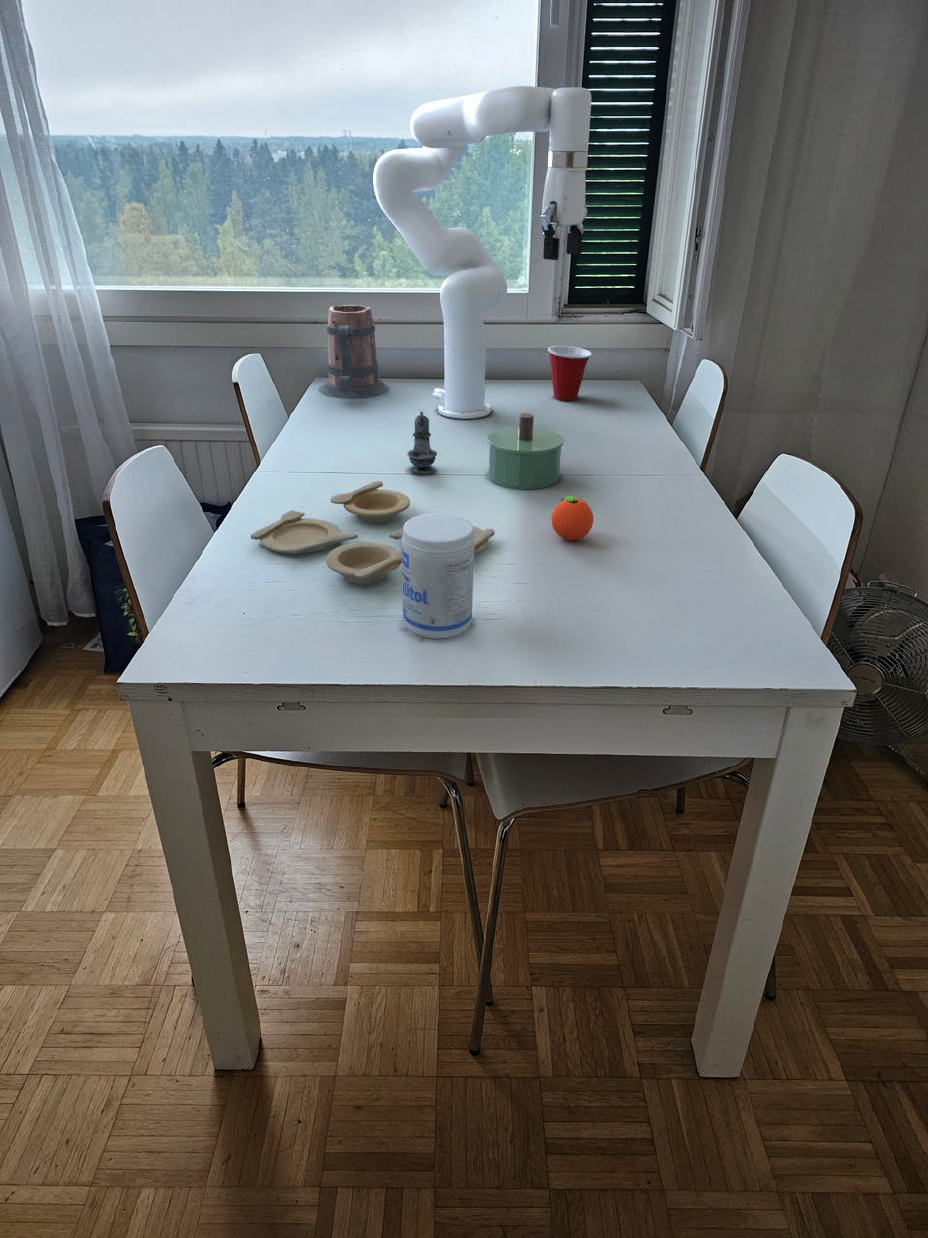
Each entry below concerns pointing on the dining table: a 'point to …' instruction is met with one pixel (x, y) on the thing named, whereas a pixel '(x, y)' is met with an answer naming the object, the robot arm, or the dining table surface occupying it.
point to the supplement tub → (437, 574)
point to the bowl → (524, 469)
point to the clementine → (572, 518)
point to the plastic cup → (567, 370)
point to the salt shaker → (422, 448)
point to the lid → (525, 438)
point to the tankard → (352, 353)
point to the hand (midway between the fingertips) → (562, 256)
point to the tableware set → (350, 535)
